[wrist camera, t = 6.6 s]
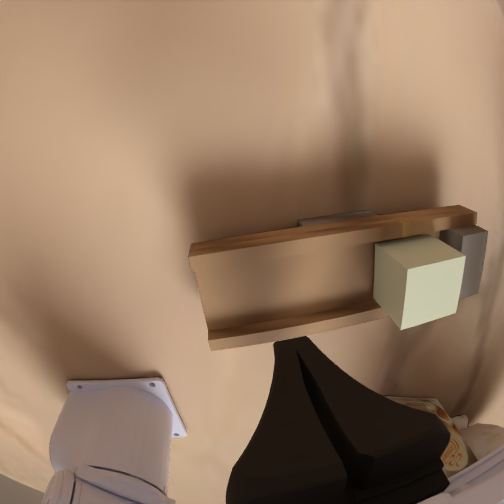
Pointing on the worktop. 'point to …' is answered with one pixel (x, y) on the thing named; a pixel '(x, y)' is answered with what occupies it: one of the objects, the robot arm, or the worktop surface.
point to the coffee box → (457, 449)
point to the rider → (417, 279)
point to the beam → (315, 272)
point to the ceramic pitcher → (480, 436)
